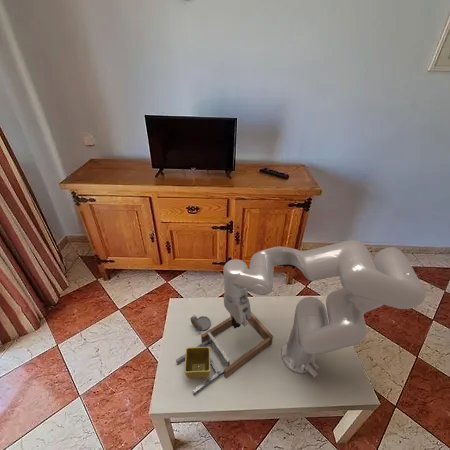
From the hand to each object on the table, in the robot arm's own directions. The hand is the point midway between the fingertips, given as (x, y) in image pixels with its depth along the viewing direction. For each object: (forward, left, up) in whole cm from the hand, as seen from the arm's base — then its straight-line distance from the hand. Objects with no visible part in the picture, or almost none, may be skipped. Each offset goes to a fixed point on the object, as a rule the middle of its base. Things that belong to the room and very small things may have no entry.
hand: (236, 325), depth 96 cm
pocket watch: (+16, +7, -15) cm, 23 cm away
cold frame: (+1, -1, -15) cm, 15 cm away
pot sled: (+1, +15, -14) cm, 21 cm away
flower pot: (0, +17, -15) cm, 22 cm away
